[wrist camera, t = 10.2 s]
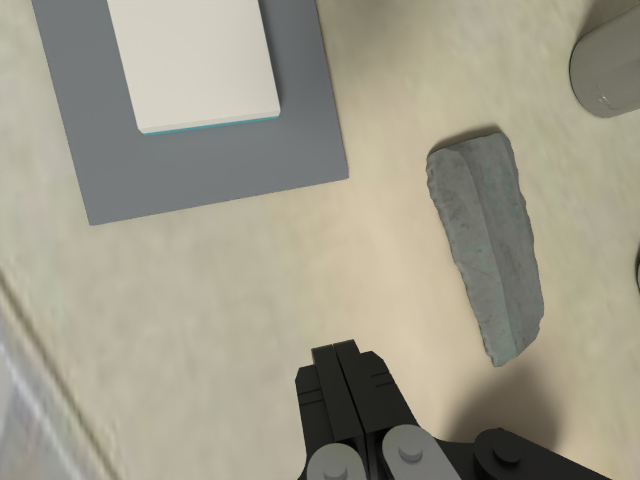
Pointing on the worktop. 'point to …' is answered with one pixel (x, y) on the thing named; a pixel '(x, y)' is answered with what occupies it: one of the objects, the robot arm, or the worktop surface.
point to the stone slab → (490, 239)
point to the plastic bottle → (639, 275)
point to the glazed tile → (194, 63)
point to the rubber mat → (191, 145)
